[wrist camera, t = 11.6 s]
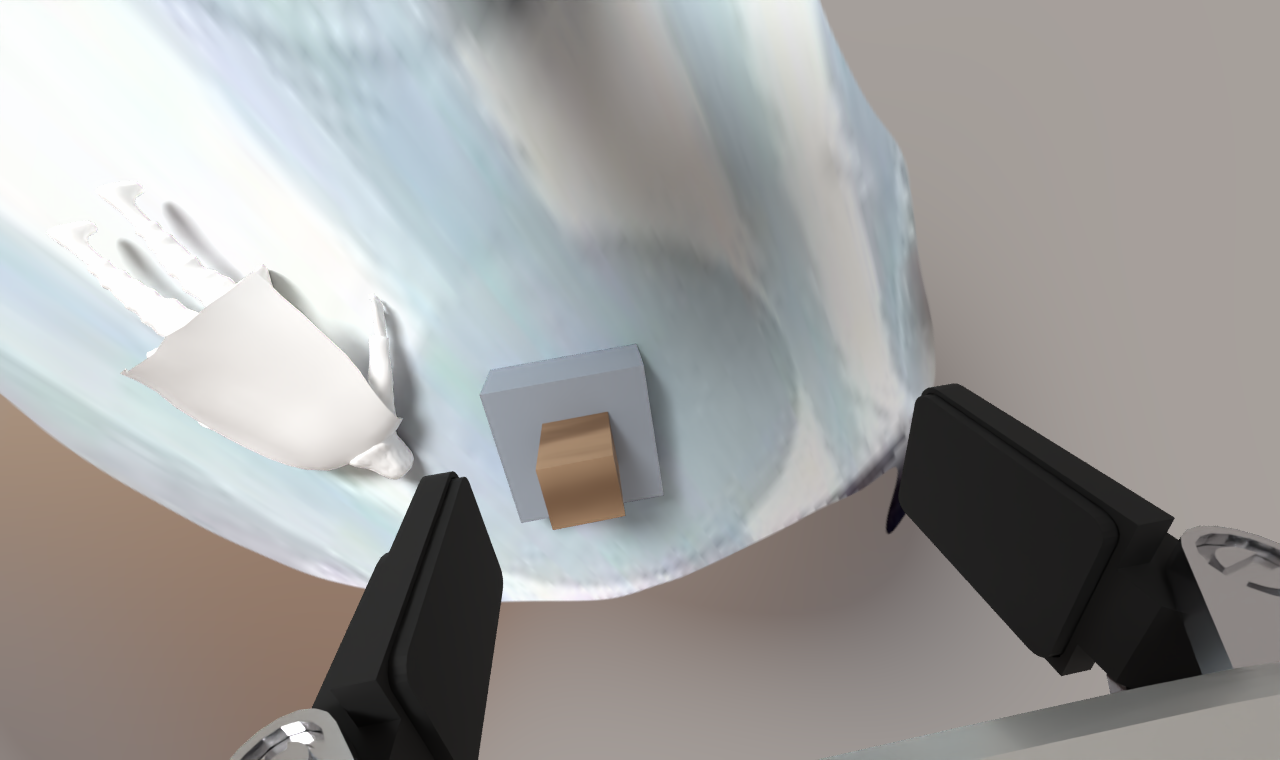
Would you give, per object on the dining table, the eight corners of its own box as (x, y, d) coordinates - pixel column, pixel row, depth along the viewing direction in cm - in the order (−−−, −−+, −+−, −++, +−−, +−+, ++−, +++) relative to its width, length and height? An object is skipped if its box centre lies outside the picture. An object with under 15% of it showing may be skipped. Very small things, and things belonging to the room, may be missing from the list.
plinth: (491, 368, 38) (479, 395, 34) (636, 342, 39) (643, 365, 34) (527, 485, 43) (521, 523, 39) (654, 461, 44) (663, 495, 39)
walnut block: (542, 423, 35) (535, 470, 30) (607, 411, 36) (613, 455, 30) (556, 477, 37) (552, 530, 32) (618, 465, 38) (625, 515, 32)
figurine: (41, 275, 31) (339, 507, 42) (-132, 313, 24) (287, 586, 34) (225, 124, 29) (491, 408, 40) (100, 111, 22) (471, 468, 32)
